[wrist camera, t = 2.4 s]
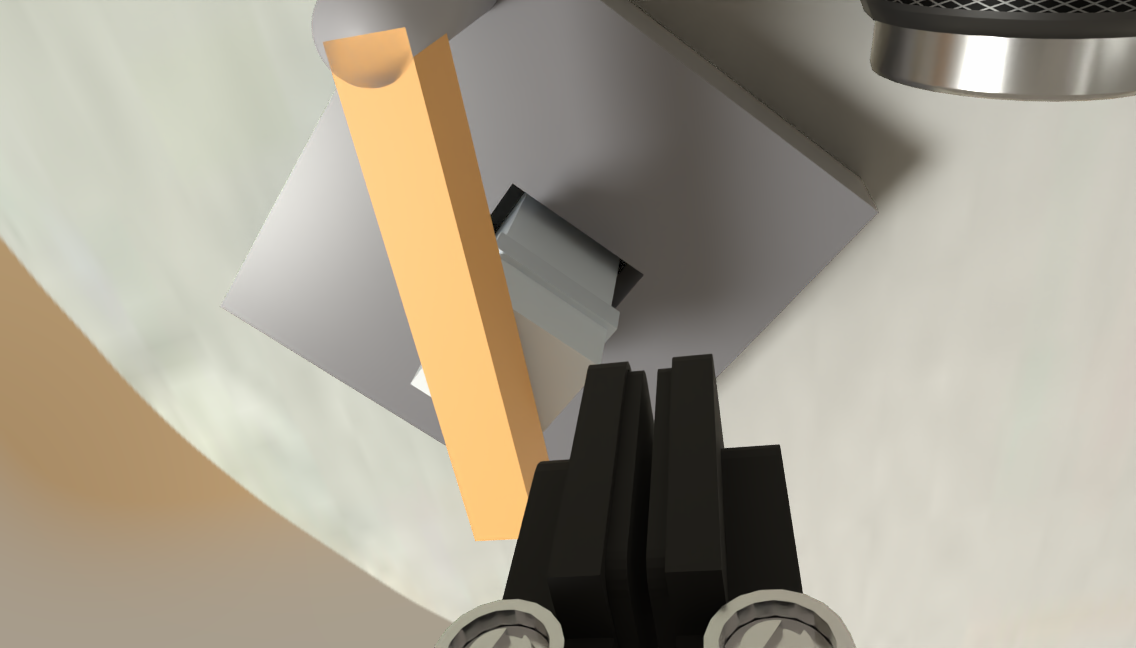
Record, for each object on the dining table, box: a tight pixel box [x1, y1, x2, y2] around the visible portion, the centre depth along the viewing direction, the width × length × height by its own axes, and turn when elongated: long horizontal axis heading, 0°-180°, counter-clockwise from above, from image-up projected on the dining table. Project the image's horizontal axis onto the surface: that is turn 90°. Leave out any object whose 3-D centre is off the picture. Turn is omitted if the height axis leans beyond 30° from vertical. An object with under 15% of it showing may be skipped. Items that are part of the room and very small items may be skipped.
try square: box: [312, 0, 549, 541], centre depth 26 cm, size 16×2×10 cm, turn 11°
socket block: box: [220, 0, 878, 461], centre depth 34 cm, size 18×19×4 cm
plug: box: [411, 192, 620, 433], centre depth 31 cm, size 5×5×10 cm
